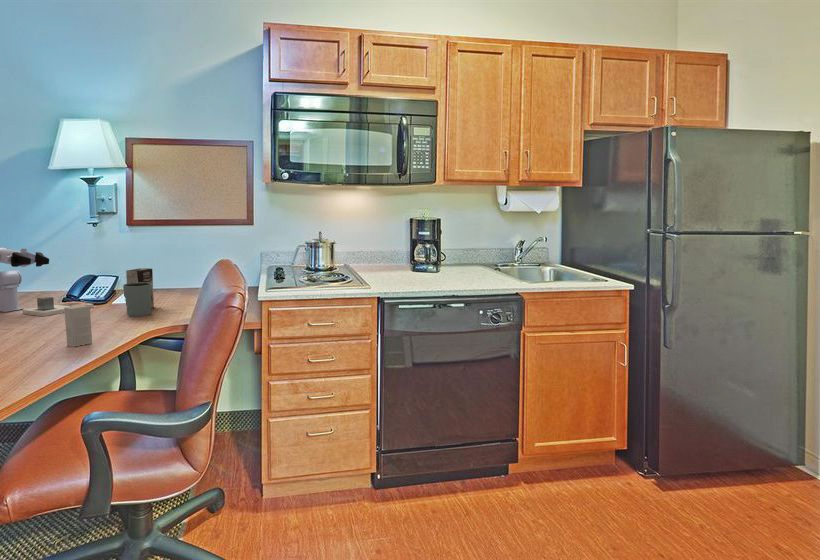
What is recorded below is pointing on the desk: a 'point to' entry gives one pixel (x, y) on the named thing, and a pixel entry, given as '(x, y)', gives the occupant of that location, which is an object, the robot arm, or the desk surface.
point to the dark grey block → (45, 303)
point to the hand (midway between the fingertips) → (39, 261)
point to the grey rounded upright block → (138, 298)
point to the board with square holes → (55, 309)
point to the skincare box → (78, 325)
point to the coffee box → (141, 278)
